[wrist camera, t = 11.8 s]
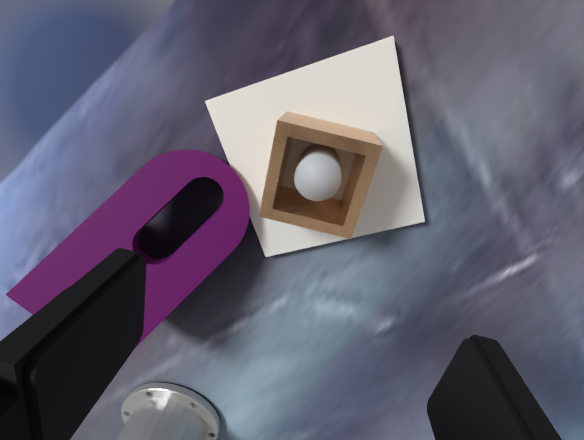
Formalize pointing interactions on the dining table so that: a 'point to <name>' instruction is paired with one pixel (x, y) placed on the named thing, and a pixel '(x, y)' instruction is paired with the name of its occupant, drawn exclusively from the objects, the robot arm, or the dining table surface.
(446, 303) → the dining table surface
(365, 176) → the open wooden box
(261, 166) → the flange
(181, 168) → the mounting bracket
